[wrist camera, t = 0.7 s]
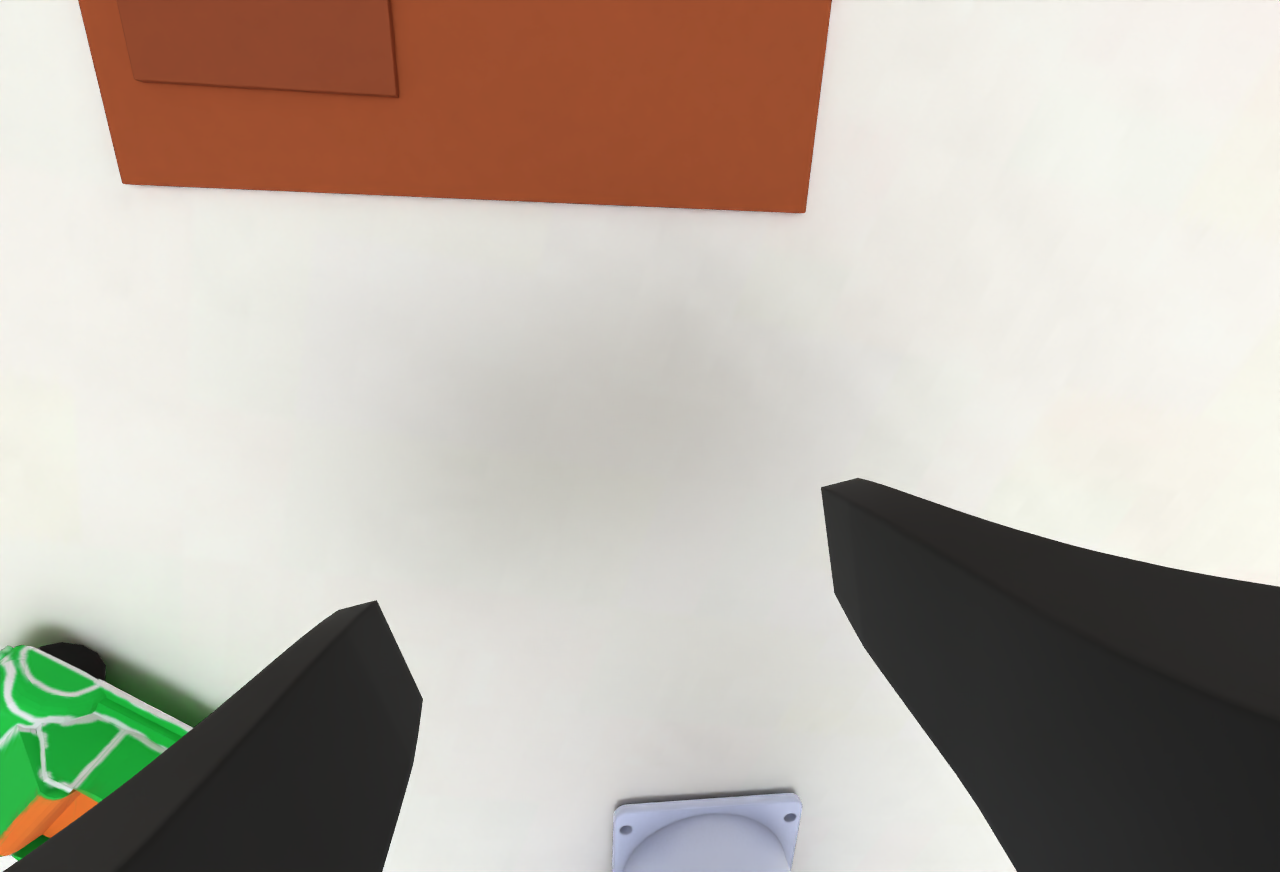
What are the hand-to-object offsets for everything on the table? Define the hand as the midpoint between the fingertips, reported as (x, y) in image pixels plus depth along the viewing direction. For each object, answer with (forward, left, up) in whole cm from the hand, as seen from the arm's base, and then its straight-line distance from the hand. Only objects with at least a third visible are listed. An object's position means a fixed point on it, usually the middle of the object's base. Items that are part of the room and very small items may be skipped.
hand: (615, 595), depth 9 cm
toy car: (-13, +15, -10) cm, 22 cm away
